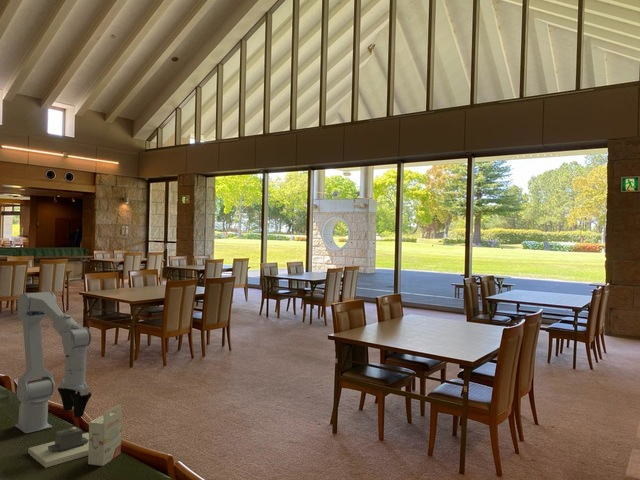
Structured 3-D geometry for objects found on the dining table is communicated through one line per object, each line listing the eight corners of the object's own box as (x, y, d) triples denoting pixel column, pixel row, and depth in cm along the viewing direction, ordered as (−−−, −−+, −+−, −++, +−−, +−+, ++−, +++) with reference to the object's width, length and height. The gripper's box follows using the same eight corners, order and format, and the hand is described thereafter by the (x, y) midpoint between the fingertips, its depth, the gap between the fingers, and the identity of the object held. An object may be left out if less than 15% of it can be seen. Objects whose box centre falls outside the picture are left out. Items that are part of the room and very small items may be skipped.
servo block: (47, 454, 142) (48, 431, 142) (82, 445, 150) (83, 423, 150) (52, 459, 139) (53, 435, 140) (88, 448, 147) (89, 426, 147)
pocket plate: (27, 453, 142) (28, 448, 142) (87, 437, 155) (87, 432, 155) (45, 467, 134) (45, 462, 134) (107, 449, 147) (107, 444, 147)
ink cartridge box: (106, 452, 145) (108, 401, 145) (121, 454, 144) (123, 403, 144) (86, 464, 137) (88, 411, 137) (102, 466, 136) (104, 412, 136)
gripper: (51, 366, 152) (49, 410, 151) (71, 375, 142) (69, 423, 142) (75, 362, 157) (73, 405, 157) (96, 371, 147) (94, 417, 147)
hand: (73, 413), depth 150 cm, fingers open, 7 cm apart
